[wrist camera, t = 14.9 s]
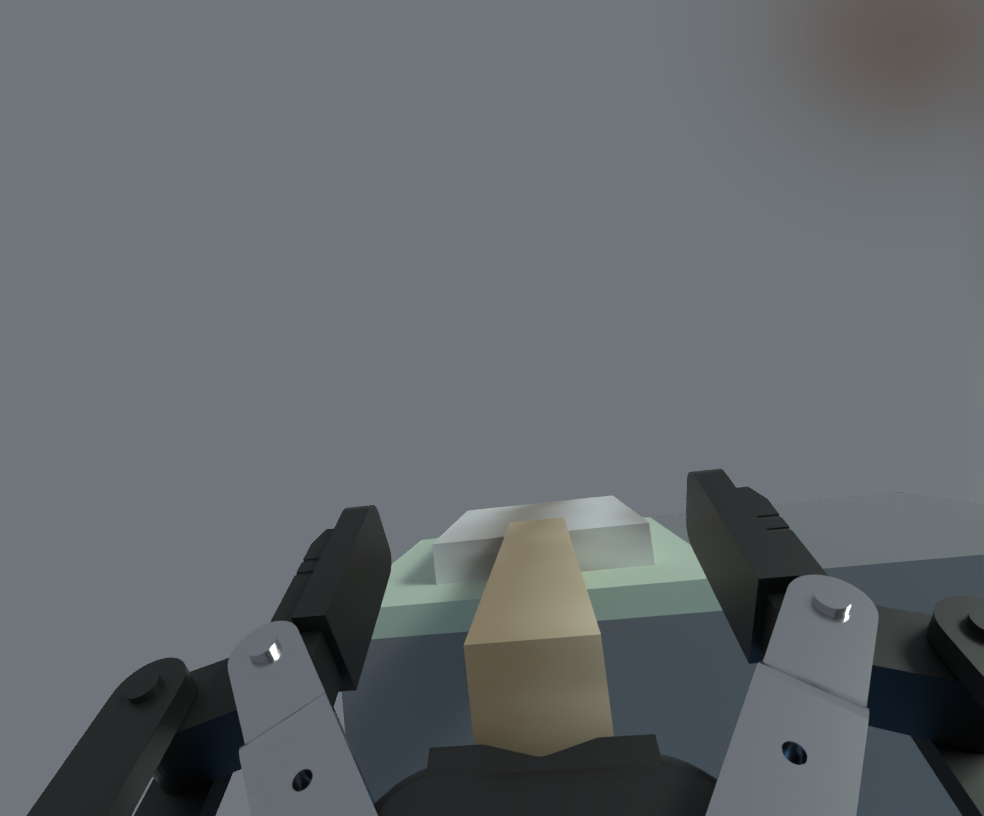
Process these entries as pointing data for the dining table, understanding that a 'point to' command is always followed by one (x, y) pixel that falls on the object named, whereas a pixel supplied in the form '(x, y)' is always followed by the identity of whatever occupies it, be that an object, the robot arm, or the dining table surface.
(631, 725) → the blue-grey rectangular block
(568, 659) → the hammer
